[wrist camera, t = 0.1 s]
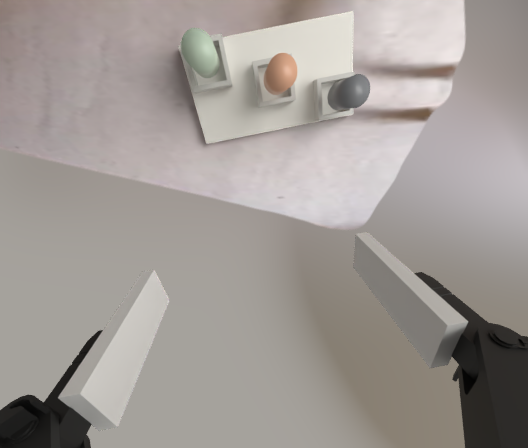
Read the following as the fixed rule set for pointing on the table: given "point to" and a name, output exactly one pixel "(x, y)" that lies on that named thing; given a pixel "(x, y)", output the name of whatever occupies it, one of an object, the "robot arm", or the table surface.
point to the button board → (252, 78)
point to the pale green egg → (200, 52)
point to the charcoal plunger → (349, 92)
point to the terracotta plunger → (280, 73)
